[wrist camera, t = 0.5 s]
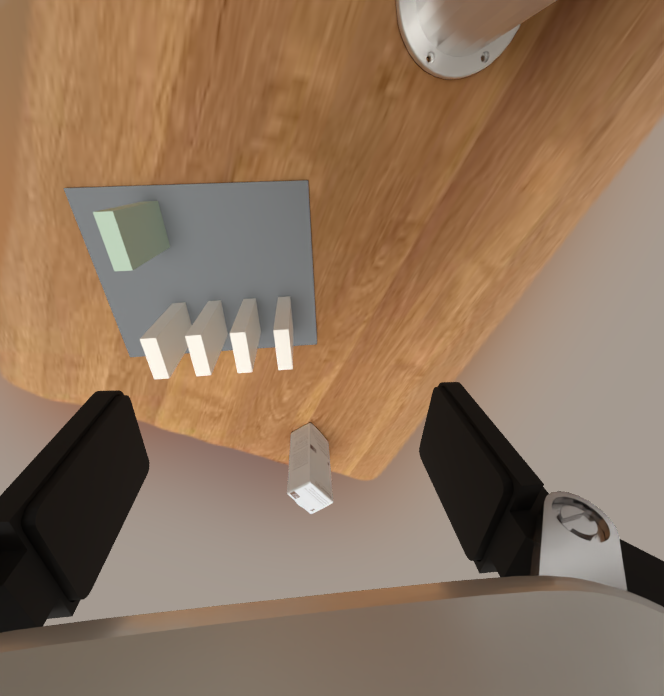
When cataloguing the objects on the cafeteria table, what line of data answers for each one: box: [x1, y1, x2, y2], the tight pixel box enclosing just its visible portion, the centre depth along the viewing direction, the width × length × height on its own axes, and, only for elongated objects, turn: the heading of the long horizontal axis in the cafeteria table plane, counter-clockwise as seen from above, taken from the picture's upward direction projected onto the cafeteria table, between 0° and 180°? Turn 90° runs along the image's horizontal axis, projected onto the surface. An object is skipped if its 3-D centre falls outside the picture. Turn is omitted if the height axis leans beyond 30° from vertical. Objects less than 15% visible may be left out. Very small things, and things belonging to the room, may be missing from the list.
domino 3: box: [230, 298, 261, 373], centre depth 39 cm, size 2×5×10 cm, turn 2°
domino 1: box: [140, 302, 192, 379], centre depth 38 cm, size 2×5×10 cm, turn 1°
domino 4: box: [273, 296, 293, 370], centre depth 39 cm, size 2×5×10 cm, turn 2°
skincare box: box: [287, 423, 333, 514], centre depth 50 cm, size 6×4×12 cm
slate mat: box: [64, 180, 317, 357], centre depth 40 cm, size 26×21×1 cm
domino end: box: [93, 201, 170, 271], centre depth 32 cm, size 2×5×10 cm, turn 2°
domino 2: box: [185, 300, 228, 376], centre depth 38 cm, size 2×5×10 cm, turn 1°
